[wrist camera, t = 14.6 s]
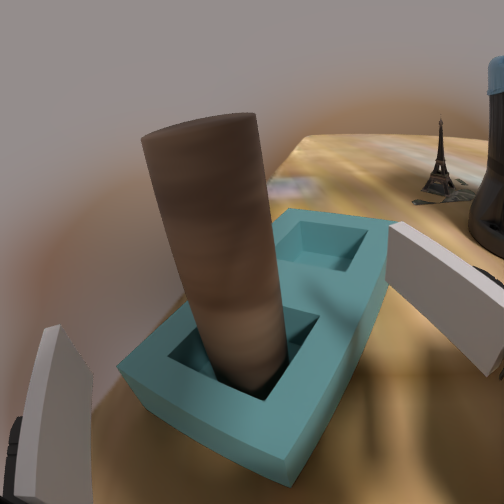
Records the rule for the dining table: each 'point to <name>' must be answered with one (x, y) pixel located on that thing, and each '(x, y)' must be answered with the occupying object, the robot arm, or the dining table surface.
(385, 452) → the dining table surface
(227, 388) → the bore block
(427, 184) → the eiffel tower figurine
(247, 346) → the walnut pin
